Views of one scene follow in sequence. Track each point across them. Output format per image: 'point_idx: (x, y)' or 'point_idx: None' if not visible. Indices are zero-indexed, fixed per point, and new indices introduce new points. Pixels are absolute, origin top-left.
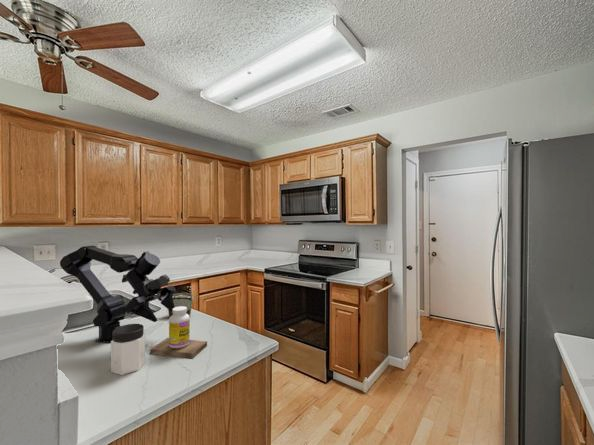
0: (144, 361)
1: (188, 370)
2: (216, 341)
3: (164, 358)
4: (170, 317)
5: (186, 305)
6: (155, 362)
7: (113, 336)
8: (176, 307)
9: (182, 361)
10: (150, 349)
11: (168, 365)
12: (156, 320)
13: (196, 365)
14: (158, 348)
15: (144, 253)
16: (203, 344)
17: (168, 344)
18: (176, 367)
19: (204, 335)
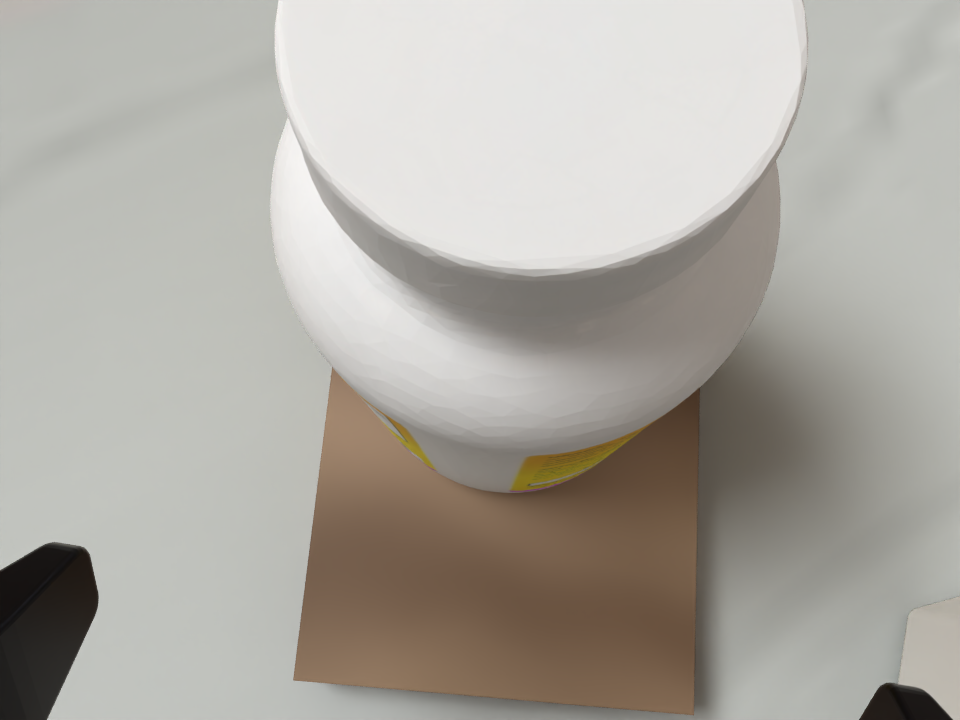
0: (935, 605)
1: (930, 41)
2: (254, 24)
3: (760, 425)
4: (667, 367)
5: None
6: (869, 478)
7: None
8: (452, 192)
9: (780, 184)
10: (693, 706)
11: (893, 288)
12: (921, 691)
13: (825, 9)
14: (655, 596)
15: None
16: None
17: (516, 521)
18: (909, 183)
19: (75, 239)
